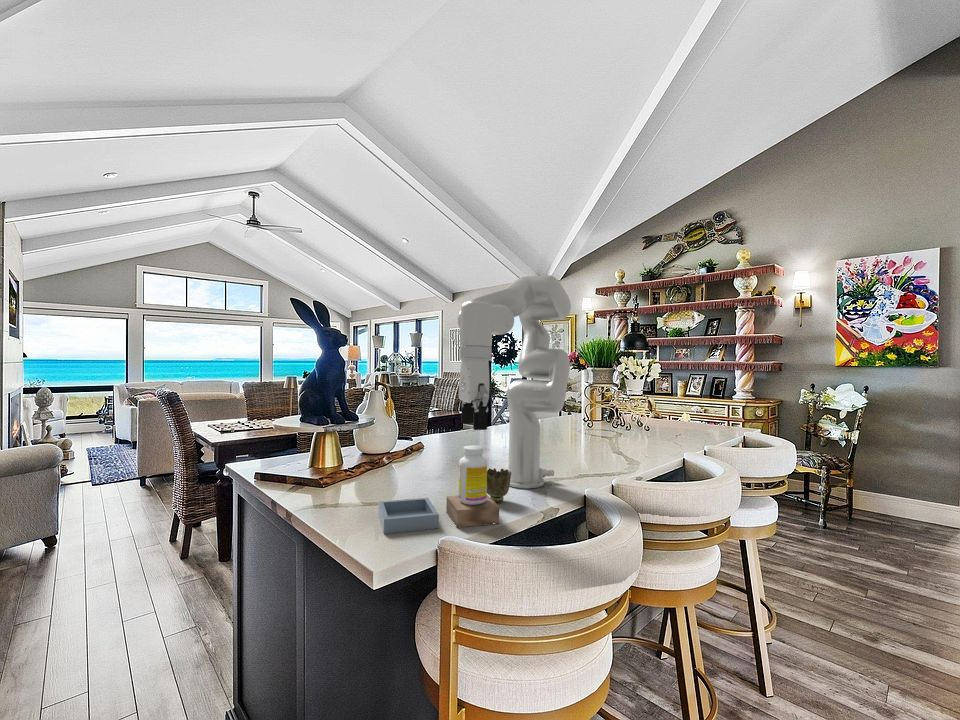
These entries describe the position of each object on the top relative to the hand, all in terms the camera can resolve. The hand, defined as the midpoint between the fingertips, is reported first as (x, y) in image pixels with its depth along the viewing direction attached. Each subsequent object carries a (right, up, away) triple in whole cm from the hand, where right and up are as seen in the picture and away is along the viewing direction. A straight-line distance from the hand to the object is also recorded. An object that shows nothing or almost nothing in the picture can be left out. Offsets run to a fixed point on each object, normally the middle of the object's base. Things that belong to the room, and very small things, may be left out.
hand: (473, 426), depth 105 cm
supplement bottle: (0, -18, 0) cm, 18 cm away
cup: (+6, -22, +13) cm, 26 cm away
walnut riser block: (0, -22, 0) cm, 22 cm away
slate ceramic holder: (-15, -22, -2) cm, 27 cm away
